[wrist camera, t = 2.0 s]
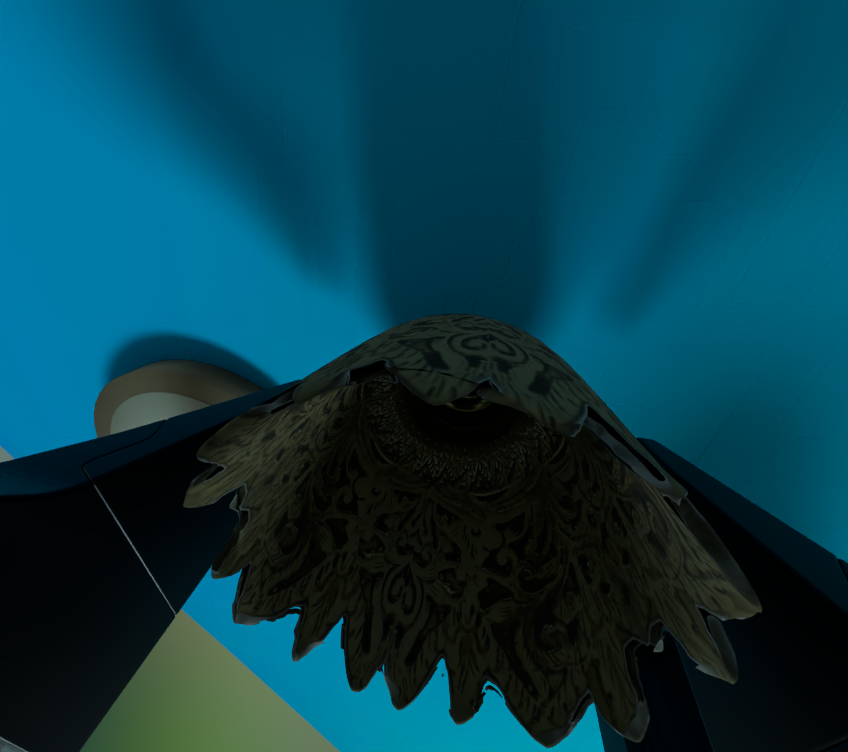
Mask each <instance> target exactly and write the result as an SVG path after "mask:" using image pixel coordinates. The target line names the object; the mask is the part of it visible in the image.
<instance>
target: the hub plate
mask: <svg viewBox="0 0 848 752" xmlns="http://www.w3.org/2000/svg"><path fill="white" fill-rule="evenodd" d="M262 390H264V389H262V388H260V387H258V386H257V385H255V384H253V383H252V382H250V381H248V380H247V379H244V378H242V377H240V376H238V375H236V374H234V373H232V372H230V371H227V370H224V369H221V368H219V367H216V366H213V365H209V364H205V363H201V362H196V361H189V360H163V361H158V362H154V363H150V364H148V365H146V366H143V367H141V368H139V369H136V370H134V371H131V372H129V373H127V374H124V375H122V376H120V377H118V378H115V379H113V380H112V381H111V382H110V383H108V384H107V385H106V386H105V387H104V388H103V390H102V391H101V392H100V394H99V396H98V398H97V401H96V403H95V410H94V423H95V429H96V433H97V437H98V438H100V437H104V436H107V435H111V434H115V433H119V432H122V431H126V430H129V429H133V428H136V427H140V426H143V425H147V424H150V423H154V422H157V421H160V420H164V419H165V420H167V419H168V418H171V417H174V416H178V415H181V414H184V413H188V412H191V411H194V410H198V409H201V408H205V407H208V406H211V405H215V404H218V403H221V402H225V401H228V400H232V399H235V398H238V397H242V396H245V395H248V394H252V393H255V392H259V391H262Z"/></svg>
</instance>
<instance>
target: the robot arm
mask: <svg viewBox="0 0 848 752" xmlns="http://www.w3.org/2000/svg"><path fill="white" fill-rule="evenodd" d="M299 381H300V380H296V381H292V382H289V383H286V384H282V385H279V386H275V387H272V388H269V389H265V390H262V391H259V392H255V393H252V394H248V395H245V396H242V397H238V398H235V399H232V400H228V401H225V402H221V403H218V404H215V405H211V406H208V407H205V408H201V409H198V410H194V411H191V412H188V413H184V414H181V415H178V416H174V417H171V418H168V419H167V420H165V419H164V420H160V421H157V422H154V423H150V424H147V425H143V426H140V427H136V428H133V429H129V430H126V431H122V432H119V433H115V434H111V435H107V436H104V437H100V438H96V439H92V440H89V441H85V442H81V443H77V444H73V445H69V446H65V447H61V448H57V449H53V450H49V451H45V452H41V453H37V454H33V455H30V456H26V457H22V458H18V459H14V460H10V461H6V462H1V463H0V752H4V751H5V750H6V749H7V748H8V749H10V750H12V751H15V752H80V750H81V749H82V747H83V746H84V745H85V743H86V742H87V740H88V739H89V738H90V736H91V735H92V733H93V732H94V730H95V729H96V728H97V726H98V725H99V723H100V722H101V721H102V719H103V718H104V716H105V715H106V714H107V712H108V711H109V709H110V708H111V706H112V705H113V704H114V702H115V701H116V700H117V698H118V697H119V695H120V694H121V693H122V691H123V690H124V688H125V687H126V686H127V684H128V683H129V681H130V680H131V678H132V677H133V676H134V674H135V673H136V671H137V670H138V669H139V667H140V666H141V664H142V663H143V662H144V660H145V659H146V657H147V656H148V654H149V653H150V652H151V650H152V649H153V648H154V646H155V645H156V643H157V642H158V641H159V639H160V638H161V636H162V635H163V633H164V632H165V631H166V629H167V628H168V627H169V625H170V624H171V622H172V621H173V620H174V618H175V615H176V614H177V613H178V612H179V611H180V609H181V608H182V607H183V605H184V604H185V602H186V601H187V599H188V598H189V597H190V595H191V594H192V592H193V591H194V590H195V588H196V587H197V585H198V584H199V583H200V581H201V580H202V578H203V577H204V576H205V574H206V573H207V571H208V570H209V569H210V567H211V566H212V564H213V563H214V561H215V559H216V557H217V556H218V554H219V553H220V552H221V551H222V549H223V548H224V546H225V545H226V543H227V542H228V540H229V539H230V538H231V536H232V535H233V530H234V528H235V527H236V525H237V524H238V522H239V521H240V519H239V515H238V514H239V513H238V512H237V511H235V510H233V509H231V508H230V504H231V502H232V501H233V498H234V496H235V494H236V492H235V491H233V492H228V493H227V494H225V495H224V496H222V497H221V498H220V499H219V500H218V501H216V502H214V503H213V504H209V505H205V506H200V507H194V508H186V507H184V506H183V504H184V501H185V496H186V492H187V490H188V487H189V485H190V484H191V482H192V481H193V480H194V479H195V478H196V477H197V476H198V475H199V474H200V473H201V472H203V471H204V470H205V469H206V468H207V467H209V466H210V465H211V463H207V462H202V461H200V460H199V459H198V458H197V456H196V454H197V452H198V450H199V449H200V447H201V446H202V445H203V444H204V443H205V442H206V441H207V440H208V439H209V438H210V437H212V436H213V435H214V434H215V433H216V432H218V431H219V430H220V429H221V428H222V427H224V426H225V425H226V424H228V423H229V422H230V421H231V420H233V419H234V418H236V417H237V416H239V415H241V414H242V413H244V412H246V411H247V410H249V409H251V408H253V407H255V406H257V405H259V404H261V403H263V402H265V401H267V400H269V399H271V398H272V397H274V396H276V395H277V394H279V393H281V392H283V391H284V390H286V389H288V388H289V387H291V386H292V385H294V384H296V383H297V382H299ZM636 439H637V440H638V441H639V442H640V443H641V445H642V446H643V447H644V448H645V449H646V450H647V451H648V453H649V454H650V455H651V456H652V457H653V458H654V459H655V461H656V462H657V463H658V464H659V465H660V466H661V467H662V469H663V470H664V471H666V472H667V473H668V474H669V475H670V476H671V477H672V478H674V479H675V480H676V481H677V482H678V483H679V484H681V485H682V486H683V487H684V488H685V490H686V491H687V493H688V495H687V496H686V497H687V498H688V500H689V501H690V502H691V503H692V504H693V505H694V507H695V508H696V509H697V510H698V511H699V512H700V514H701V515H702V516H703V517H704V518H705V519H706V520H707V522H708V523H709V524H710V525H711V527H712V528H713V529H714V531H715V532H716V534H717V535H718V537H719V538H720V539H721V541H722V542H723V544H724V545H725V547H726V548H727V549H728V551H729V552H730V554H731V555H732V557H733V558H734V560H735V561H736V562H737V564H738V565H739V567H740V568H741V570H742V571H743V573H744V574H745V576H746V578H747V579H748V581H749V583H750V584H751V586H752V588H753V589H754V591H755V593H756V595H757V597H758V599H759V601H760V604H761V606H762V612H761V613H760V612H757V613H756V614H755V615H753V616H752V617H749V618H745V619H737V618H734V619H729V620H724V621H722V623H723V626H724V628H725V630H726V633H727V635H728V637H729V640H730V642H731V645H732V648H733V650H734V653H735V657H736V661H737V667H738V680H737V681H736V682H735V684H732V683H729V682H728V681H725V680H723V679H720V678H717V677H714V676H712V675H709V674H707V673H704V672H703V671H701V670H699V669H697V668H695V667H697V666H699V664H697V663H696V662H695V661H693V660H692V659H691V658H690V657H689V656H688V655H687V653H686V651H685V649H684V648H683V647H682V646H681V644H680V643H679V641H677V639H676V638H675V637H674V636H673V637H672V636H668V635H664V634H663V636H665V637H664V639H663V651H662V652H653V651H654V649H655V646H653V645H651V644H649V646H646V645H645V644H643V643H642V644H641V645H640V646H639V647H638V648H636V650H635V659H636V657H637V666H638V669H639V679H640V681H641V683H642V685H643V693H644V696H645V698H646V701H647V706H648V709H649V713H650V718H649V723H648V726H647V730H646V733H645V736H644V737H643V739H642V740H641V741H640V742H634V741H631V740H629V739H627V738H625V737H623V736H622V735H620V734H619V733H617V732H616V731H615V730H614V729H613V728H612V727H611V726H610V725H609V724H608V723H607V722H606V721H605V720H604V719H603V718H602V717H601V715H600V714H599V712H598V710H597V709H596V712H597V717H598V722H599V727H600V731H601V736H602V741H603V746H604V751H605V752H848V563H847V562H845V561H843V560H842V559H837V558H836V556H835V555H834V554H832V553H831V552H829V551H828V550H826V549H824V548H823V547H821V546H820V545H818V544H817V543H815V542H813V541H812V540H810V539H809V538H807V537H806V536H804V535H802V534H801V533H799V532H798V531H796V530H795V529H793V528H791V527H790V526H788V525H787V524H785V523H784V522H782V521H780V520H779V519H777V518H776V517H774V516H773V515H771V514H770V513H768V512H766V511H765V510H763V509H762V508H760V507H759V506H757V505H755V504H754V503H752V502H751V501H749V500H748V499H746V498H744V497H743V496H741V495H740V494H738V493H737V492H735V491H733V490H732V489H730V488H729V487H727V486H726V485H724V484H722V483H721V482H719V481H718V480H716V479H715V478H713V477H711V476H710V475H708V474H707V473H705V472H704V471H702V470H700V469H699V468H697V467H696V466H694V465H693V464H691V463H690V462H688V461H686V460H685V459H683V458H682V457H680V456H679V455H677V454H675V453H674V452H672V451H671V450H669V449H668V448H666V447H664V446H663V445H661V444H660V443H658V442H657V441H655V440H651V439H645V438H636ZM236 490H237V488H236ZM240 518H241V513H240Z"/></svg>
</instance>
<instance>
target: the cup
mask: <svg viewBox="0 0 848 752" xmlns="http://www.w3.org/2000/svg"><path fill="white" fill-rule="evenodd" d="M196 456H197V458H198V459H199V460H200V461H202V462H207V463H211V465H210V466H209V467H207V468H206V469H205V470H204V471H203V472H201V473H200V474H199V475H198V476H197V477H196V478H195V479H194V480H193V481H192V482H191V484H190V485H189V487H188V490H187V492H186V496H185V501H184V504H183V506H184V507H186V508H194V507H200V506H205V505H209V504H213V503H214V502H216V501H218V500H219V499H220V498H221V497H222V496H224V495H225V494H227V493H228V492H233V491H235V492H236V494H235V496H234V498H233V501H232V502H231V504H230V508H231V509H233V510H235V511H237V512H238V513H239V514H238V515H239V519H240V521H239V522H238V524H237V525H236V527H235V528H234V530H233V535H232V536H231V538H230V539H229V540H228V542H227V543H226V545H225V546H224V548H223V549H222V551H221V552H220V553H219V554H218V556H217V557H216V559H215V561H214V563H213V565H212V567H211V573H212V578H213V579H219V578H224V577H228V576H232V575H234V574H236V573H238V572H240V570H241V569H242V572H241V575H240V578H239V582H238V585H237V592H236V596H235V600H234V602H233V604H232V614H233V621H234V623H235V624H236V623H238V624H244V625H256V624H259V621H263V620H266V621H272V622H274V621H276V619H280V618H283V617H285V616H286V615H288V614H295V613H297V614H298V615H299V614H300V615H299V619H298V622H297V624H296V627H295V629H294V636H295V640H294V644H293V649H292V659H293V661H294V662H296V661H299V660H300V659H301V658H302V657H304V656H306V655H307V654H308V653H309V652H310V651H311V650H312V649H313V648H315V647H316V646H318V645H319V644H322V643H324V642H322V641H323V640H324V639H325V638H326V636H327V635H328V634H329V632H330V631H331V630H332V628H333V627H334V626H335V625H336V624H337V623H338V622H339V621H340V619H341V618H342V617H343V622H344V623H343V624H342V629H341V648H342V649H344V656H345V666H346V674H347V679H348V683H349V686H350V688H351V690H352V691H354V692H360V691H361V690H363V689H365V688H366V687H367V686H368V684H369V682H370V681H371V679H372V678H373V676H374V675H375V673H376V671H377V670H378V671H379V672H381V671H382V673H383V669H382V666H383V665H384V673H385V674H384V673H383V674H384V678H385V681H386V683H387V686H388V689H389V692H390V696H391V700H392V704H393V706H394V707H395V708H396V709H397V710H402V709H404V708H405V707H407V706H408V705H409V704H410V703H412V702H413V701H414V700H415V698H416V697H417V696H418V695H419V694H420V692H421V691H422V690H423V689H424V687H425V686H426V685H427V684H428V682H429V681H430V680H431V678H432V676H433V674H434V673H435V671H436V670H437V668H438V667H436V666H437V664H438V662H439V661H440V659H442V658H443V659H444V660H445V665H446V669H447V672H448V677H449V692H450V708H451V709H449V713H450V716H451V717H452V719H453V721H454V722H455V724H457V725H460V724H464V723H465V722H467V721H468V720H470V719H471V718H473V716H474V714H475V713H477V712H478V711H479V708H480V707H481V705H482V704H483V697H484V695H485V694H486V693H485V692H483V693H482V689H483V686H484V684H485V683H486V682H487V681H490V682H491V683H493V684H495V685H496V686H497V687H498V688H499V689H500V691H501V692H502V694H503V696H504V699H505V701H506V702H505V704H506V706H507V708H508V709H509V710H510V712H511V713H512V714H513V715H514V717H515V718H516V719H517V720H518V721H519V723H520V724H521V725H522V726H523V727H524V728H525V729H526V730H527V732H528V733H529V734H530V736H531V737H532V738H534V739H535V740H536V741H537V742H539V743H540V744H541V745H543V746H545V747H546V748H551V747H553V746H555V745H557V744H558V743H560V742H561V741H562V740H563V739H564V738H566V737H567V736H568V735H569V734H570V733H571V732H572V731H573V729H574V728H575V726H576V725H577V723H578V722H579V721H580V720H581V719H582V717H583V716H584V714H585V712H586V710H587V708H588V706H589V705H591V704H592V703H593V702H594V704H595V707H596V709H597V710H598V712H599V714H600V715H601V717H602V718H603V719H604V720H605V721H606V722H607V723H608V724H609V725H610V726H611V727H612V728H613V729H614V730H615V731H616V732H617V733H619V734H620V735H622V736H623V737H625V738H627V739H629V740H631V741H634V742H640V741H641V740H642V739H643V737H644V736H645V733H646V730H647V726H648V723H649V718H650V713H649V709H648V706H647V701H646V698H645V696H644V693H643V685H642V683H641V681H640V679H639V669H638V666H637V657H636V659H635V650H636V648H638V647H639V646H640V645H641V644H642V643H643V644H645V645H646V646H649V644H651V645H653V646H655V649H654V651H653V652H662V651H663V639H664V637H665V636H663V630H664V628H665V627H666V628H667V629H668V630H669V631H670V633H671V634H672V635H673V636H674V637H675V638H676V639H677V641H679V643H680V644H681V646H682V647H683V648H684V649H685V651H686V653H687V655H688V656H689V657H690V658H691V659H692V660H693V661H695V662H696V663H697V664H699V666H697V667H695V668H697V669H699V670H701V671H703V672H704V673H707V674H709V675H712V676H714V677H717V678H720V679H723V680H725V681H728V682H729V683H732V684H735V682H736V681H737V680H738V667H737V661H736V657H735V653H734V650H733V648H732V645H731V642H730V640H729V637H728V635H727V633H726V630H725V628H724V626H723V623H722V621H724V620H729V619H734V618H737V619H745V618H749V617H752V616H753V615H755V614H756V613H757V612H760V613H761V612H762V606H761V604H760V601H759V599H758V597H757V595H756V593H755V591H754V589H753V588H752V586H751V584H750V583H749V581H748V579H747V578H746V576H745V574H744V573H743V571H742V570H741V568H740V567H739V565H738V564H737V562H736V561H735V560H734V558H733V557H732V555H731V554H730V552H729V551H728V549H727V548H726V547H725V545H724V544H723V542H722V541H721V539H720V538H719V537H718V535H717V534H716V532H715V531H714V529H713V528H712V527H711V525H710V524H709V523H708V522H707V520H706V519H705V518H704V517H703V516H702V515H701V514H700V512H699V511H698V510H697V509H696V508H695V507H694V505H693V504H692V503H691V502H690V501H689V500H688V498H687V497H686V496H687V495H688V493H687V491H686V490H685V488H684V487H683V486H682V485H681V484H679V483H678V482H677V481H676V480H675V479H674V478H672V477H671V476H670V475H669V474H668V473H667V472H666V471H664V470H663V469H662V467H661V466H660V465H659V464H658V463H657V462H656V461H655V459H654V458H653V457H652V456H651V455H650V454H649V453H648V451H647V450H646V449H645V448H644V447H643V446H642V445H641V443H640V442H639V441H638V440H637V439H636V438H635V437H634V435H633V434H632V433H631V432H630V431H629V430H628V429H627V428H626V426H625V425H624V424H623V423H622V422H621V421H620V420H619V418H618V417H617V416H616V415H615V414H614V413H613V412H612V411H611V409H610V408H609V407H608V406H607V405H606V404H605V403H604V402H603V401H602V399H601V398H600V397H599V396H598V395H597V394H596V393H595V392H594V391H593V390H592V388H591V387H590V386H589V385H588V384H587V383H586V382H585V381H584V380H583V379H582V378H581V377H580V376H579V375H578V374H577V373H576V372H575V371H574V369H573V368H572V367H571V366H570V365H569V364H568V363H567V362H565V361H564V360H563V359H562V358H561V357H560V356H559V355H558V354H556V353H555V352H554V351H553V350H551V349H550V348H549V347H548V346H546V345H545V344H544V343H543V342H541V341H540V340H538V339H537V338H535V337H533V336H532V335H530V334H529V333H527V332H525V331H523V330H521V329H519V328H516V327H514V326H512V325H510V324H507V323H504V322H501V321H498V320H495V319H492V318H487V317H483V316H478V315H469V314H443V315H434V316H428V317H423V318H419V319H415V320H412V321H409V322H406V323H403V324H401V325H398V326H395V327H393V328H391V329H389V330H387V331H385V332H383V333H381V334H379V335H377V336H375V337H373V338H371V339H369V340H367V341H365V342H363V343H362V344H360V345H358V346H357V347H355V348H353V349H351V350H350V351H348V352H346V353H345V354H343V355H341V356H340V357H338V358H336V359H335V360H333V361H331V362H330V363H328V364H326V365H325V366H323V367H321V368H320V369H318V370H316V371H315V372H313V373H312V374H310V375H308V376H307V377H305V378H304V379H302V380H300V381H299V382H297V383H296V384H294V385H292V386H291V387H289V388H288V389H286V390H284V391H283V392H281V393H279V394H277V395H276V396H274V397H272V398H271V399H269V400H267V401H265V402H263V403H261V404H259V405H257V406H255V407H253V408H251V409H249V410H247V411H246V412H244V413H242V414H241V415H239V416H237V417H236V418H234V419H233V420H231V421H230V422H229V423H228V424H226V425H225V426H224V427H222V428H221V429H220V430H219V431H218V432H216V433H215V434H214V435H213V436H212V437H210V438H209V439H208V440H207V441H206V442H205V443H204V444H203V445H202V446H201V447H200V449H199V450H198V452H197V454H196ZM236 488H237V490H236ZM240 513H241V518H240ZM293 607H300V608H301V610H300V609H296V608H295V609H290V608H293ZM267 619H268V620H267ZM443 675H444V674H442V676H443ZM485 689H486V691H487V690H488V689H490V690H494V691H496V692H497V693H498V694H499V695H500V693H499V692H498V691H497V690H496V689H495V688H494V687H492V686H491V685H488V686H487V687H486V688H485ZM481 693H482V694H481ZM500 696H501V695H500ZM501 698H502V696H501Z"/></svg>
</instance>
